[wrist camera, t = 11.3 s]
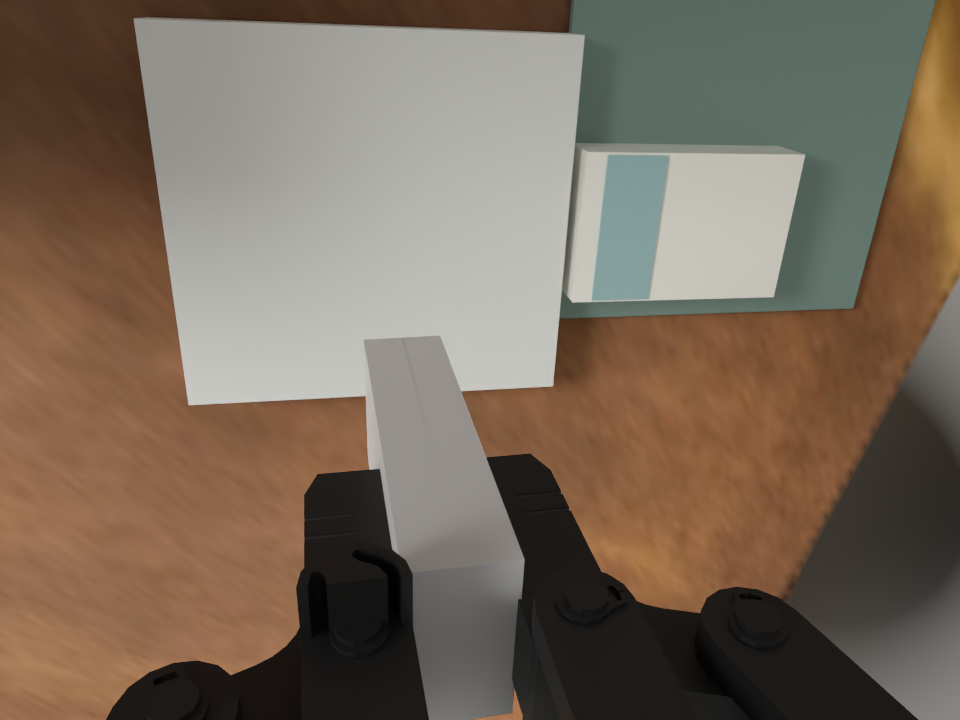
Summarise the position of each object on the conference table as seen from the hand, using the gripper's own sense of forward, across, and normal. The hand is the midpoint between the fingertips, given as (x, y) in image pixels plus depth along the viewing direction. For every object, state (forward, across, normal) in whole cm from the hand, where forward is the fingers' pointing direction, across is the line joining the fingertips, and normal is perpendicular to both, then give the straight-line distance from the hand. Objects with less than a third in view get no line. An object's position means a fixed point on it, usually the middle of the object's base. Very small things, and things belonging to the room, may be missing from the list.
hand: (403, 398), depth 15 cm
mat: (+16, +16, +1) cm, 23 cm away
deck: (+16, +1, -1) cm, 16 cm away
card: (+16, +13, -1) cm, 20 cm away
